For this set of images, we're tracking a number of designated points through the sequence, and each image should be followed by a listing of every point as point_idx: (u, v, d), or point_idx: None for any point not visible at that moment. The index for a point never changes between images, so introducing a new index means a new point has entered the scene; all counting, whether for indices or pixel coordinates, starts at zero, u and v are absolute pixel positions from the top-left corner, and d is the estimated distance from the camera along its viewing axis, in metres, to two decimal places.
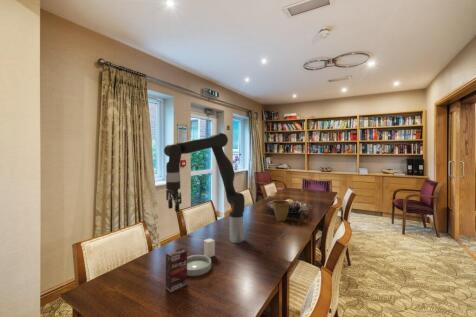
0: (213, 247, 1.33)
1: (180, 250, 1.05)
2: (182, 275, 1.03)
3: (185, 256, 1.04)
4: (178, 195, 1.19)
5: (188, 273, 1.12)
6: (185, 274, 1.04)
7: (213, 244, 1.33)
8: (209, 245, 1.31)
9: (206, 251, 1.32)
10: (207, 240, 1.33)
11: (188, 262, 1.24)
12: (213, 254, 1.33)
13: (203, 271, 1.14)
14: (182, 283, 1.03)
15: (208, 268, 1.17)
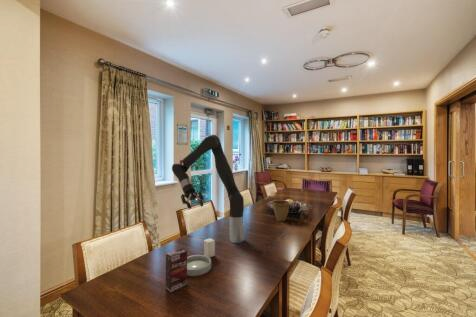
0: (213, 247, 1.33)
1: (180, 250, 1.05)
2: (182, 275, 1.03)
3: (185, 256, 1.04)
4: (181, 197, 1.44)
5: (188, 273, 1.12)
6: (185, 274, 1.04)
7: (213, 244, 1.33)
8: (209, 245, 1.31)
9: (206, 251, 1.32)
10: (207, 240, 1.33)
11: (188, 262, 1.24)
12: (213, 254, 1.33)
13: (203, 271, 1.14)
14: (182, 283, 1.03)
15: (208, 268, 1.17)
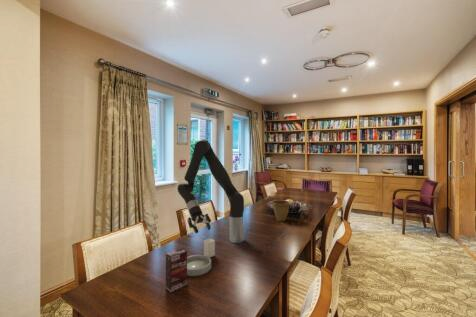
0: (213, 247, 1.33)
1: (180, 250, 1.05)
2: (182, 275, 1.03)
3: (185, 256, 1.04)
4: (188, 220, 1.38)
5: (188, 273, 1.12)
6: (185, 274, 1.04)
7: (213, 244, 1.33)
8: (209, 245, 1.31)
9: (206, 251, 1.32)
10: (207, 240, 1.33)
11: (188, 262, 1.24)
12: (213, 254, 1.33)
13: (203, 271, 1.14)
14: (182, 283, 1.03)
15: (208, 268, 1.17)
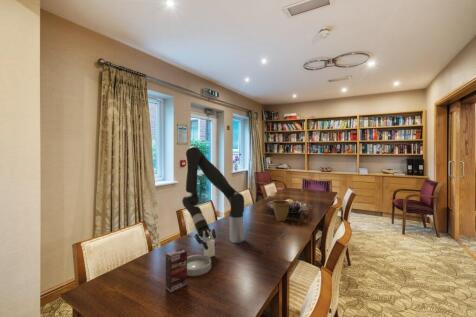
0: (213, 247, 1.33)
1: (180, 250, 1.05)
2: (182, 275, 1.03)
3: (185, 256, 1.04)
4: (195, 237, 1.33)
5: (188, 273, 1.12)
6: (185, 274, 1.04)
7: (213, 244, 1.33)
8: (209, 245, 1.31)
9: (206, 251, 1.32)
10: (207, 240, 1.33)
11: (188, 262, 1.24)
12: (213, 254, 1.33)
13: (203, 271, 1.14)
14: (182, 283, 1.03)
15: (208, 268, 1.17)
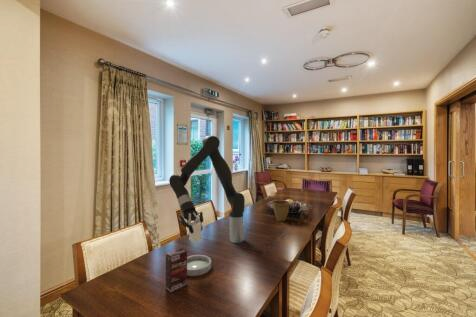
0: (199, 231, 1.20)
1: (180, 250, 1.05)
2: (182, 275, 1.03)
3: (185, 256, 1.04)
4: (180, 219, 1.20)
5: (188, 273, 1.12)
6: (185, 274, 1.04)
7: (199, 227, 1.20)
8: (195, 228, 1.18)
9: (191, 235, 1.19)
10: (193, 223, 1.20)
11: (188, 262, 1.24)
12: (199, 239, 1.20)
13: (203, 271, 1.14)
14: (182, 283, 1.03)
15: (208, 268, 1.17)
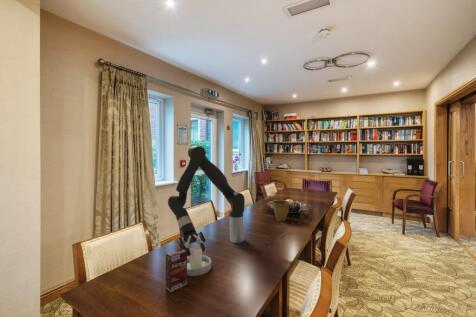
0: (200, 256, 1.19)
1: (180, 250, 1.05)
2: (182, 275, 1.03)
3: (185, 256, 1.04)
4: (179, 241, 1.19)
5: (188, 273, 1.12)
6: (185, 274, 1.04)
7: (200, 253, 1.19)
8: (195, 254, 1.17)
9: (192, 261, 1.18)
10: (193, 248, 1.20)
11: (188, 262, 1.24)
12: (200, 264, 1.19)
13: (203, 271, 1.14)
14: (182, 283, 1.03)
15: (208, 268, 1.17)
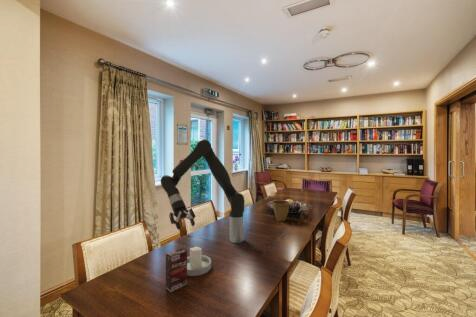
0: (200, 256, 1.19)
1: (180, 250, 1.05)
2: (182, 275, 1.03)
3: (185, 256, 1.04)
4: (169, 216, 1.27)
5: (188, 273, 1.12)
6: (185, 274, 1.04)
7: (200, 253, 1.19)
8: (195, 254, 1.17)
9: (192, 261, 1.18)
10: (193, 248, 1.20)
11: (188, 262, 1.24)
12: (200, 264, 1.19)
13: (203, 271, 1.14)
14: (182, 283, 1.03)
15: (208, 268, 1.17)
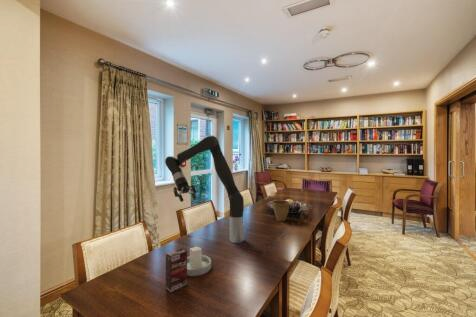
0: (200, 256, 1.19)
1: (180, 250, 1.05)
2: (182, 275, 1.03)
3: (185, 256, 1.04)
4: (173, 190, 1.43)
5: (188, 273, 1.12)
6: (185, 274, 1.04)
7: (200, 253, 1.19)
8: (195, 254, 1.17)
9: (192, 261, 1.18)
10: (193, 248, 1.20)
11: (188, 262, 1.24)
12: (200, 264, 1.19)
13: (203, 271, 1.14)
14: (182, 283, 1.03)
15: (208, 268, 1.17)
